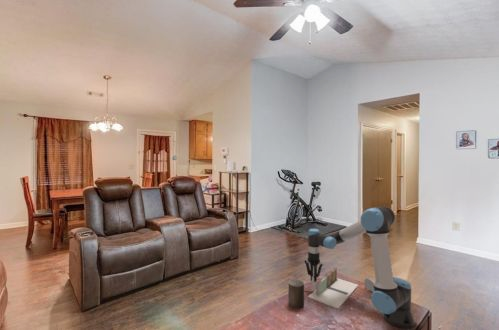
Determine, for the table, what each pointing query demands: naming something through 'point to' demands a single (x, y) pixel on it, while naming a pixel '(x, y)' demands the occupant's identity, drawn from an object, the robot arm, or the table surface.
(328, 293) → the board
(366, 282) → the game controller
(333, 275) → the fence fixed
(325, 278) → the fence gate
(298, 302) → the pillar candle
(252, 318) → the table surface
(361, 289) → the table surface
